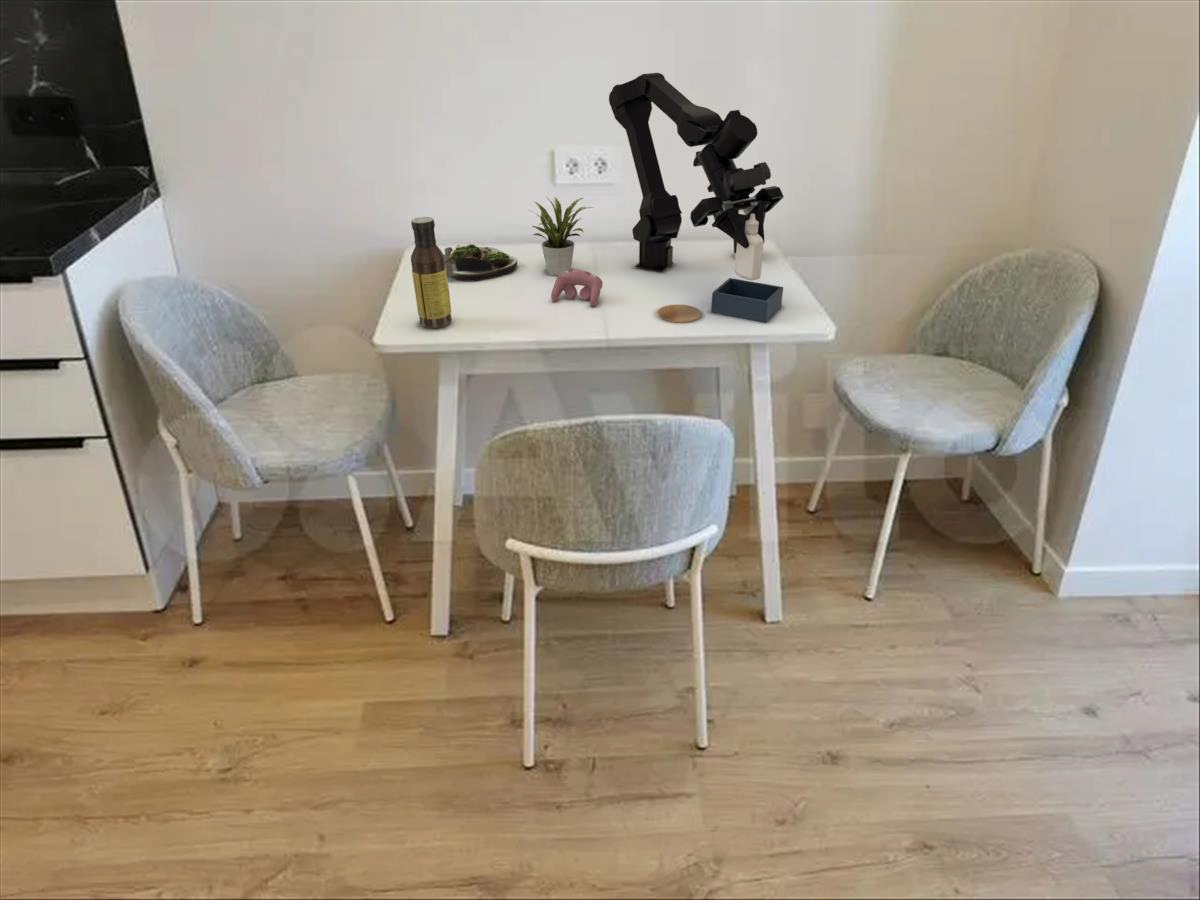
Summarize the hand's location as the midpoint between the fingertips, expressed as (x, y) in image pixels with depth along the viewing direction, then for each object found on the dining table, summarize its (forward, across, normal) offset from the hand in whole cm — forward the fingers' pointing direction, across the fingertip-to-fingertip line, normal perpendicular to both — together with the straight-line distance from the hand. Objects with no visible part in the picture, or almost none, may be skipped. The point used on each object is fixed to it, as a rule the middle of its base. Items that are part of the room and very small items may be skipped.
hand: (754, 245), depth 166 cm
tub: (+9, 0, +10) cm, 13 cm away
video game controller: (-7, -25, +26) cm, 37 cm away
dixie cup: (-9, +21, +28) cm, 36 cm away
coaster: (+5, -12, +14) cm, 19 cm away
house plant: (-18, -18, +38) cm, 46 cm away
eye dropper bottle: (+4, 0, +6) cm, 7 cm away
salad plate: (-27, -34, +47) cm, 64 cm away
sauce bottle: (-10, -54, +29) cm, 62 cm away
